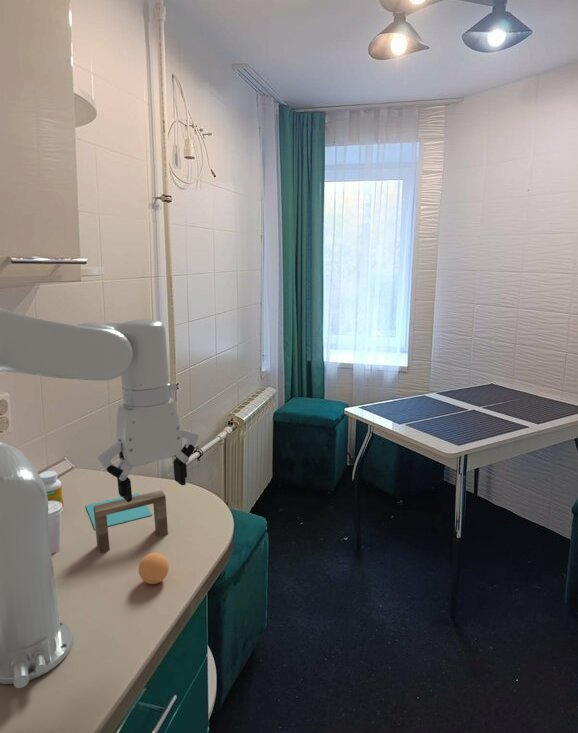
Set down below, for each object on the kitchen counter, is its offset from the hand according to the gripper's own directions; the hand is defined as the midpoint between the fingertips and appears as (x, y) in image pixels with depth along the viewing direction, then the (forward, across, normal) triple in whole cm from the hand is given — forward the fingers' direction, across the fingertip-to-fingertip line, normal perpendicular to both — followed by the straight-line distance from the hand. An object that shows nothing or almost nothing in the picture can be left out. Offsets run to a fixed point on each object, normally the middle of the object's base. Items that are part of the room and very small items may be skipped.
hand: (154, 490), depth 89 cm
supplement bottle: (+21, +8, -47) cm, 52 cm away
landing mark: (+21, -5, -37) cm, 43 cm away
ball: (+18, -1, -5) cm, 19 cm away
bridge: (+21, -3, -22) cm, 31 cm away
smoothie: (+21, +12, -29) cm, 38 cm away
